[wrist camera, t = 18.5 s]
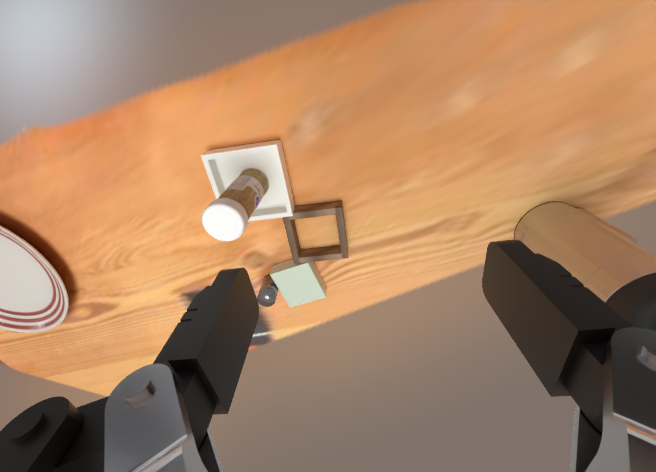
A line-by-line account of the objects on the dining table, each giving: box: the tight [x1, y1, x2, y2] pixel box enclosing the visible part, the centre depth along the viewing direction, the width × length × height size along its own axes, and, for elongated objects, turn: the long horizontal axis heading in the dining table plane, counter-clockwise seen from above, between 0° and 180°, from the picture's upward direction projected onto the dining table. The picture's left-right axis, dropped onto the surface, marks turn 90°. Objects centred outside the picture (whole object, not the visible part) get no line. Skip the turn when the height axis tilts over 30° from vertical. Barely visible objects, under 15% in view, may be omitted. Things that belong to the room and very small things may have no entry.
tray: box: [201, 140, 295, 221], centre depth 41 cm, size 10×10×3 cm
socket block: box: [283, 201, 348, 264], centre depth 45 cm, size 9×9×2 cm
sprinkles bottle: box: [202, 168, 269, 241], centre depth 36 cm, size 5×5×13 cm
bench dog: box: [257, 275, 278, 307], centre depth 50 cm, size 3×3×5 cm
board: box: [270, 259, 326, 308], centre depth 50 cm, size 7×8×3 cm
